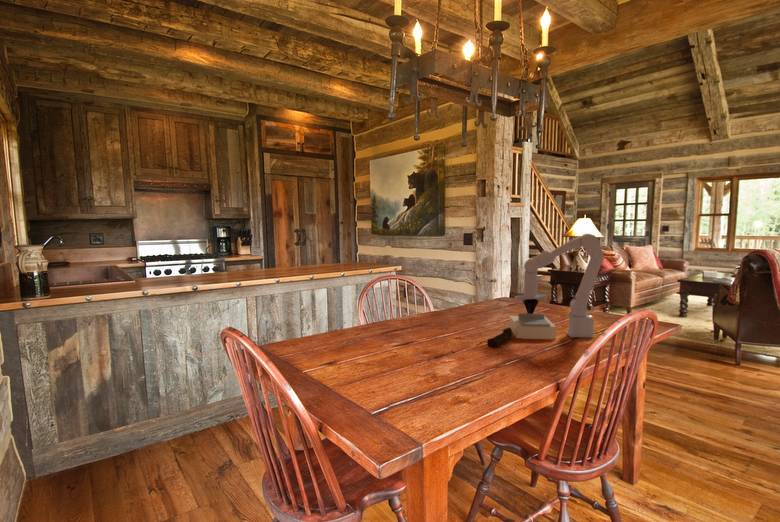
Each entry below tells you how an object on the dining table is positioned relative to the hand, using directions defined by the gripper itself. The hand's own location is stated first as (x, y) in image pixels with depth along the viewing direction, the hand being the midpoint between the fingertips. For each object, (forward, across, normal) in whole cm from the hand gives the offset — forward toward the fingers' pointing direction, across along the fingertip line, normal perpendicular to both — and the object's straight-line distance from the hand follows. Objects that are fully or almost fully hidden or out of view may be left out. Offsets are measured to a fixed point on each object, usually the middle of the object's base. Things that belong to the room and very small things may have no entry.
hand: (530, 315), depth 180 cm
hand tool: (+8, -20, -12) cm, 24 cm away
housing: (+7, -1, -3) cm, 8 cm away
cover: (+1, -2, -7) cm, 7 cm away
